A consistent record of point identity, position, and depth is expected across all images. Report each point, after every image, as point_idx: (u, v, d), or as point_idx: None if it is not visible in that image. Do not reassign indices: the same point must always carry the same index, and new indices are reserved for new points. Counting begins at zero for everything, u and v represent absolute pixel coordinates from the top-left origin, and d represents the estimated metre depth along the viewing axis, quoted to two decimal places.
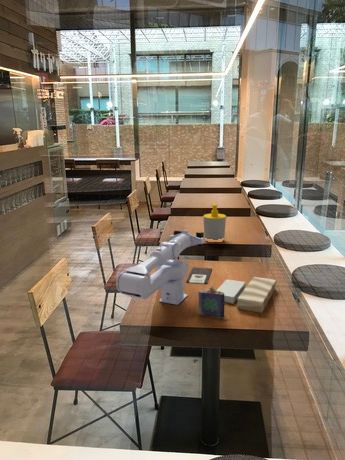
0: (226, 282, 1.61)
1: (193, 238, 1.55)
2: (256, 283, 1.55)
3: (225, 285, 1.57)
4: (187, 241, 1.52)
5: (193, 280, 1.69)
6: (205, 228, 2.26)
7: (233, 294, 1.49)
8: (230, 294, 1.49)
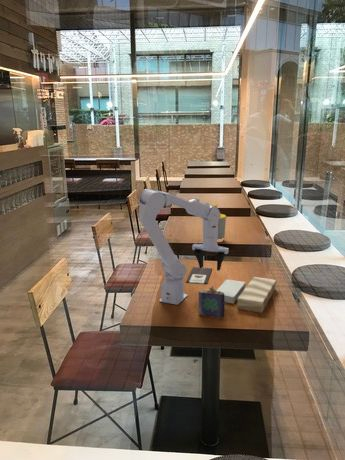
0: (226, 282, 1.61)
1: (219, 248, 1.55)
2: (256, 283, 1.55)
3: (225, 285, 1.57)
4: None
5: (193, 280, 1.69)
6: None
7: (233, 294, 1.49)
8: (230, 294, 1.49)
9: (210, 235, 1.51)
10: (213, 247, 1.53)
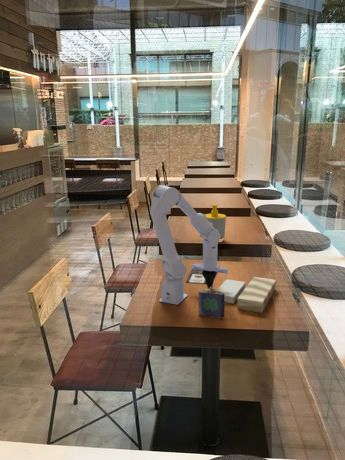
0: (226, 282, 1.61)
1: (218, 268, 1.57)
2: (256, 283, 1.55)
3: (225, 285, 1.57)
4: None
5: (193, 280, 1.69)
6: None
7: (233, 294, 1.49)
8: (230, 294, 1.49)
9: (210, 256, 1.53)
10: (213, 267, 1.55)
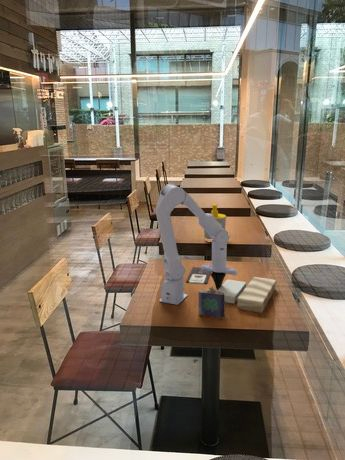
0: (227, 282, 1.61)
1: None
2: (256, 283, 1.55)
3: (226, 285, 1.57)
4: None
5: (193, 280, 1.69)
6: None
7: (234, 294, 1.49)
8: (231, 294, 1.49)
9: (218, 257, 1.52)
10: (222, 269, 1.53)
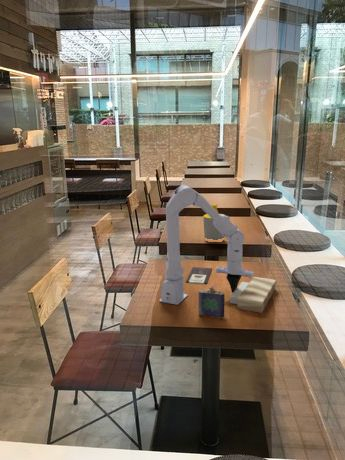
0: (242, 284, 1.58)
1: None
2: (256, 283, 1.55)
3: (241, 288, 1.55)
4: None
5: (193, 280, 1.69)
6: (205, 228, 2.26)
7: None
8: None
9: (232, 259, 1.49)
10: (238, 271, 1.50)
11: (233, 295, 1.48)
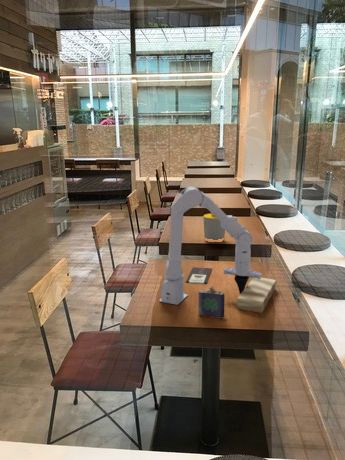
0: None
1: (251, 273, 1.51)
2: (256, 283, 1.55)
3: None
4: None
5: (193, 280, 1.69)
6: (205, 228, 2.26)
7: None
8: None
9: (240, 260, 1.48)
10: (246, 272, 1.49)
11: None
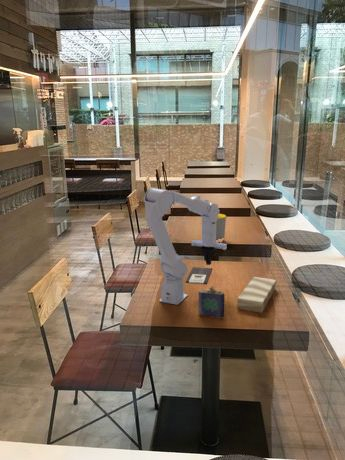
0: None
1: (217, 244, 1.58)
2: (256, 283, 1.55)
3: None
4: (215, 234, 1.57)
5: (193, 280, 1.69)
6: None
7: None
8: None
9: (210, 231, 1.55)
10: (212, 243, 1.56)
11: None
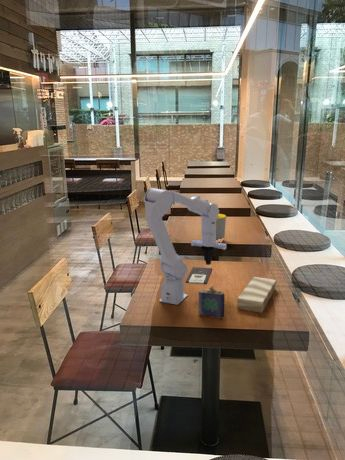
0: None
1: None
2: (256, 283, 1.55)
3: None
4: (215, 234, 1.57)
5: (193, 280, 1.69)
6: None
7: None
8: None
9: (210, 231, 1.55)
10: (211, 243, 1.56)
11: None
